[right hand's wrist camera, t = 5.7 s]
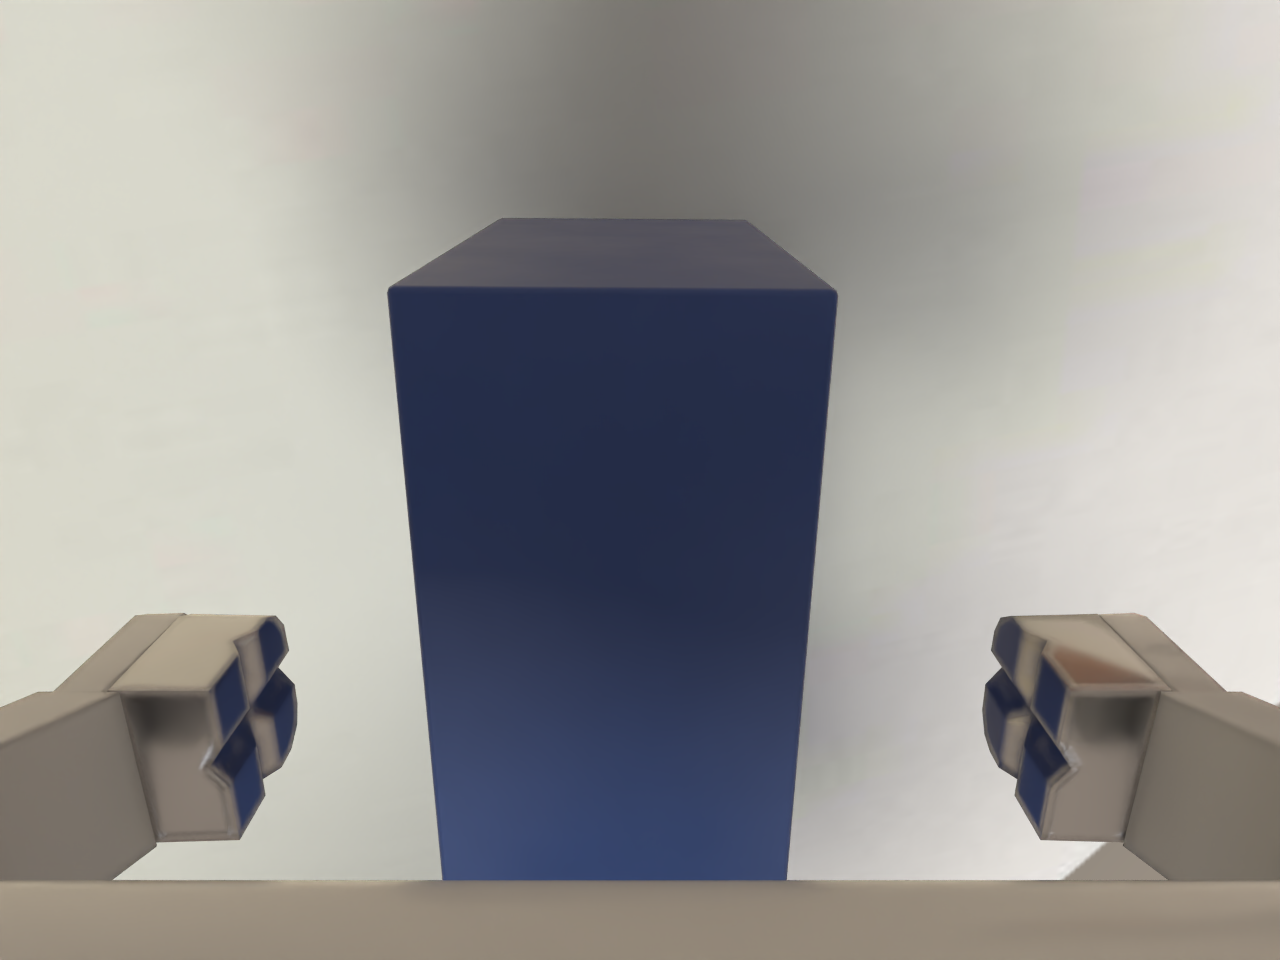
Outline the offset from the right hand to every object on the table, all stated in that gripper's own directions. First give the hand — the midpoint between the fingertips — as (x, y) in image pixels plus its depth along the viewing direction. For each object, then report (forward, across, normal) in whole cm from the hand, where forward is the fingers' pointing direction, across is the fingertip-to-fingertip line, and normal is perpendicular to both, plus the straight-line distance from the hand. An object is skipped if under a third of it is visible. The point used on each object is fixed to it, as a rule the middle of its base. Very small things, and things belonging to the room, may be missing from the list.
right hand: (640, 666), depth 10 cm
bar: (+12, 0, +7) cm, 14 cm away
